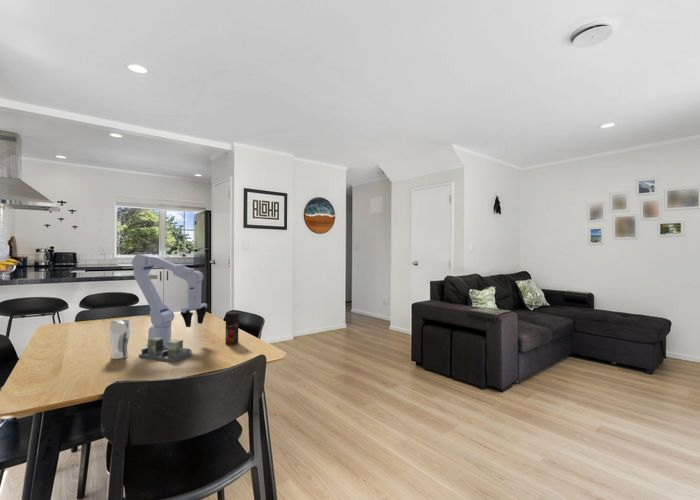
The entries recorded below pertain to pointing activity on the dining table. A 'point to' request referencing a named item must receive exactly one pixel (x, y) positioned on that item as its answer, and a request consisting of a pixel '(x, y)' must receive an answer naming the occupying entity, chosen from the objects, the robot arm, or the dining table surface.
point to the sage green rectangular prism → (174, 347)
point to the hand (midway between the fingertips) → (194, 325)
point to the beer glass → (119, 338)
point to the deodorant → (232, 328)
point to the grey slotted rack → (162, 351)
